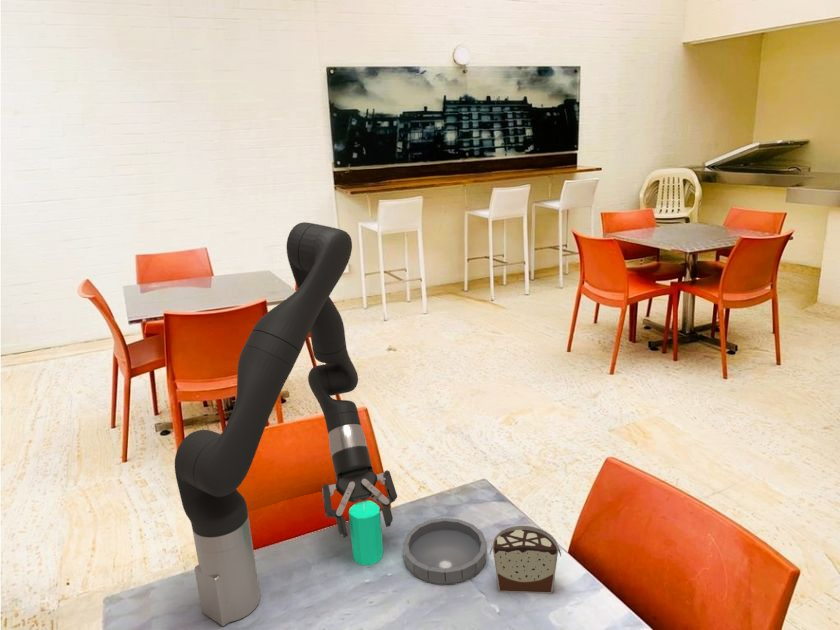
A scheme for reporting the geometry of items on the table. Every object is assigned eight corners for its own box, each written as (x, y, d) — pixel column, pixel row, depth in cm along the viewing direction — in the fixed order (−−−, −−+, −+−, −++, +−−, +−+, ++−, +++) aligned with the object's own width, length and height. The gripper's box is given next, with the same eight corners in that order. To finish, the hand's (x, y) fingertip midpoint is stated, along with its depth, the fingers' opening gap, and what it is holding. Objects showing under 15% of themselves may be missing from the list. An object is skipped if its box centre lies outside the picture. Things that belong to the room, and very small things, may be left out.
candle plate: (458, 597, 106) (457, 584, 105) (387, 564, 115) (386, 551, 114) (501, 547, 118) (500, 535, 117) (434, 521, 127) (434, 509, 126)
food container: (556, 570, 111) (557, 524, 108) (560, 594, 105) (561, 546, 103) (490, 568, 113) (489, 522, 110) (490, 592, 107) (489, 544, 104)
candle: (364, 569, 114) (360, 515, 110) (347, 555, 118) (341, 502, 115) (389, 555, 117) (385, 502, 114) (371, 541, 122) (366, 489, 119)
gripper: (315, 452, 117) (332, 537, 110) (385, 438, 121) (406, 518, 114) (314, 463, 123) (329, 544, 116) (380, 449, 127) (399, 526, 120)
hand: (367, 531), depth 115 cm, fingers open, 8 cm apart
